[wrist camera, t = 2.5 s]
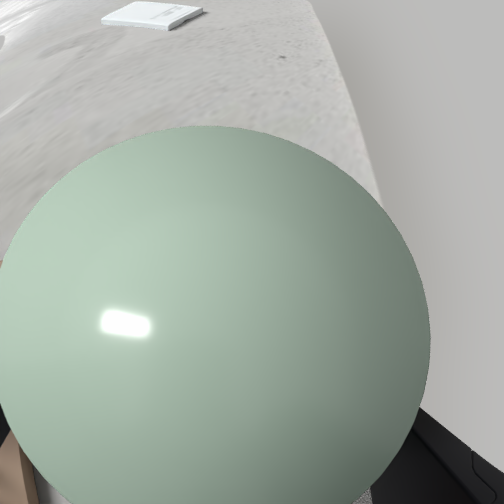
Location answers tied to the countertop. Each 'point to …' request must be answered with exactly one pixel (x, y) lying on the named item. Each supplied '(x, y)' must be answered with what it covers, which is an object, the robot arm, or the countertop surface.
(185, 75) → the countertop surface
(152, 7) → the external hard drive
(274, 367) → the canister
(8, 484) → the wooden peg board
